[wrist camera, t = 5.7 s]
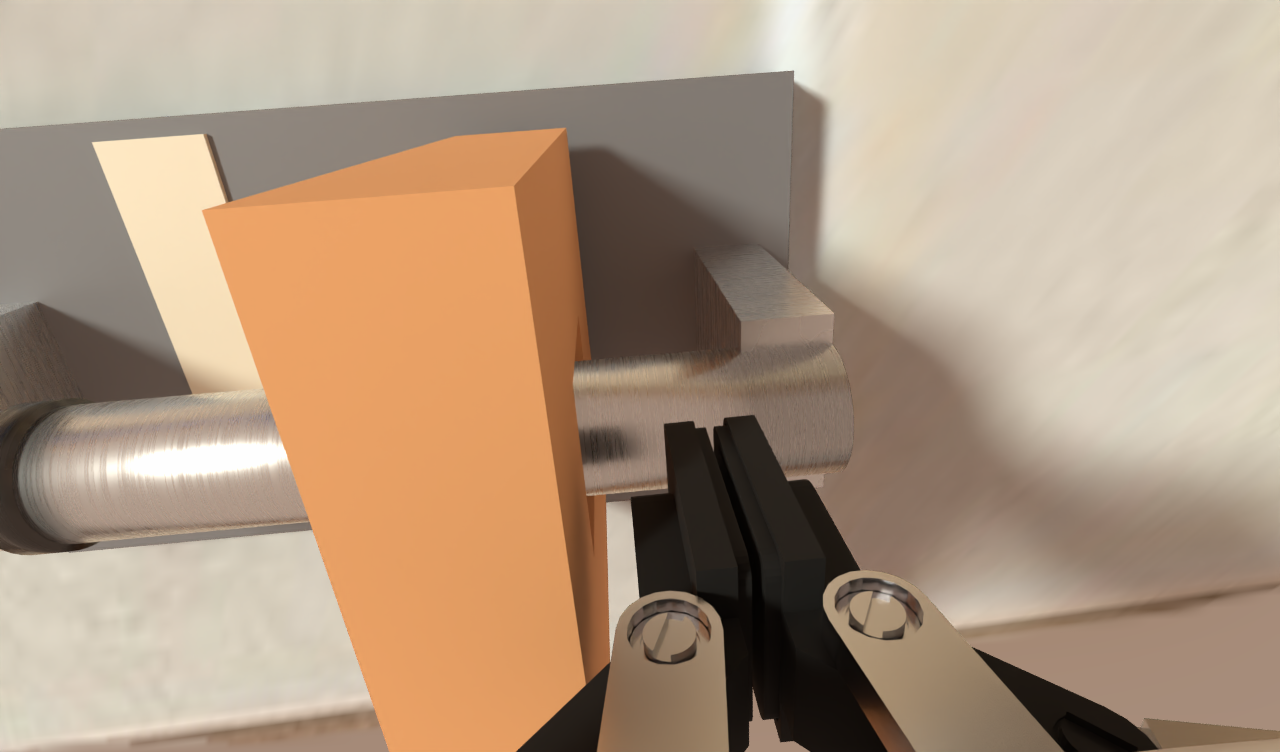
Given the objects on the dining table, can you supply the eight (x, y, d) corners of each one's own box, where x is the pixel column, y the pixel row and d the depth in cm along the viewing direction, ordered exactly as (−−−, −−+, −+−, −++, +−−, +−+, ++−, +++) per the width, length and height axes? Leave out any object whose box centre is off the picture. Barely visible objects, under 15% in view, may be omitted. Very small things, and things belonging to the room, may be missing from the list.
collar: (566, 127, 17) (513, 185, 6) (605, 495, 22) (616, 889, 11) (455, 135, 17) (202, 211, 6) (519, 503, 22) (444, 910, 11)
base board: (780, 72, 19) (795, 70, 18) (771, 464, 25) (782, 487, 23) (-103, 137, 18) (-165, 140, 17) (99, 526, 24) (66, 555, 23)
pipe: (757, 242, 20) (864, 340, 12) (756, 371, 22) (848, 529, 14) (-31, 307, 19) (-475, 457, 11) (36, 434, 21) (-305, 641, 13)
